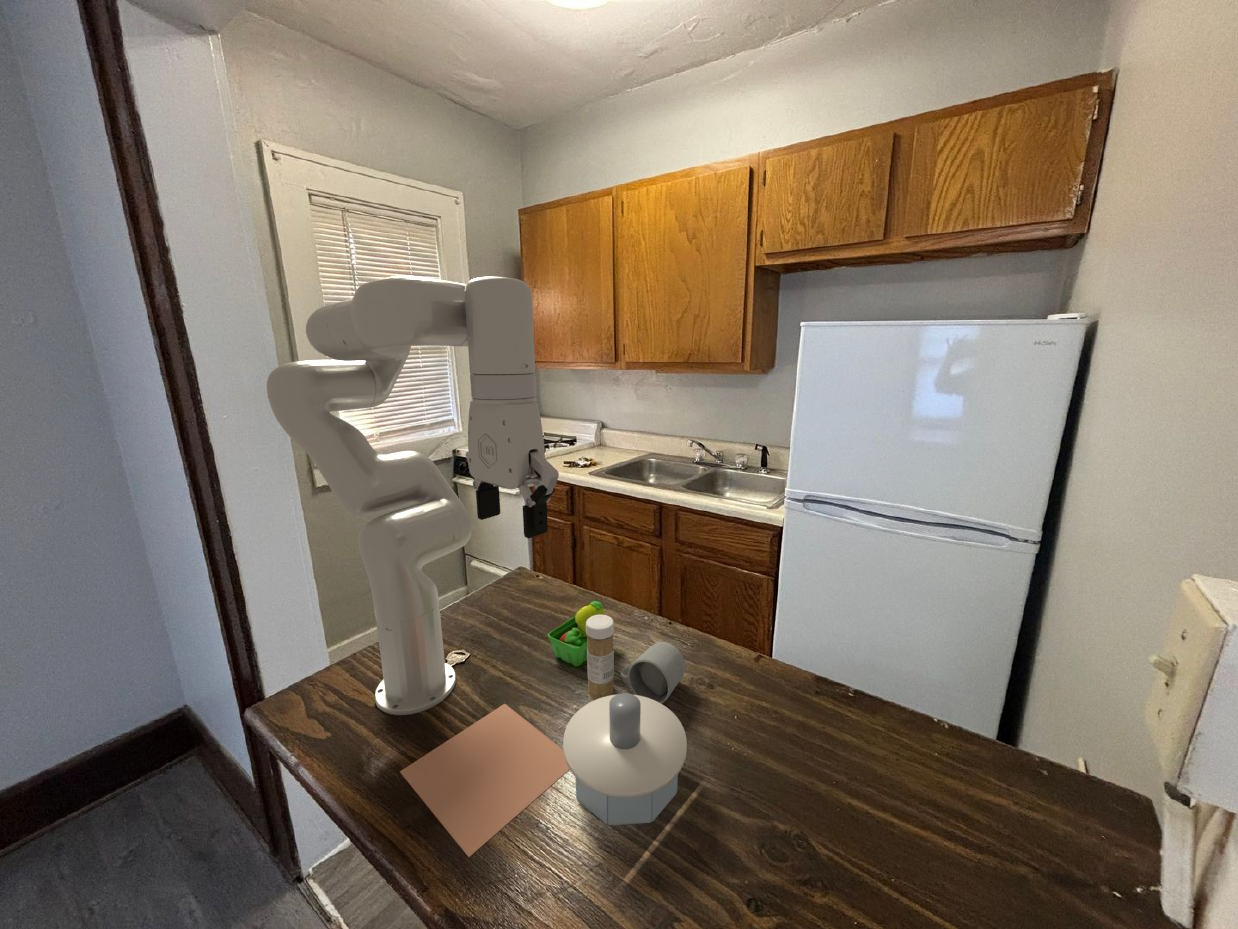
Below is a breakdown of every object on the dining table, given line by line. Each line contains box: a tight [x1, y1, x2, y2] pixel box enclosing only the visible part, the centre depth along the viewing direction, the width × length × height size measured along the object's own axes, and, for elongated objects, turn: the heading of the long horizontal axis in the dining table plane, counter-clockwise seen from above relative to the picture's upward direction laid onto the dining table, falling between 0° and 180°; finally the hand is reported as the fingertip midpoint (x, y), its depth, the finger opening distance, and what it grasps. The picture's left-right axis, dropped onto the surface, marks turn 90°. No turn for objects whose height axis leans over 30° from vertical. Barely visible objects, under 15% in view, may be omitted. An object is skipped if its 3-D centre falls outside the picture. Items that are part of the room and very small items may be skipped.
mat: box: [399, 703, 570, 858], centre depth 65 cm, size 17×17×1 cm
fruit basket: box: [547, 600, 605, 667], centre depth 89 cm, size 11×9×11 cm
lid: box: [562, 692, 688, 798], centre depth 62 cm, size 16×16×6 cm
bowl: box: [575, 773, 679, 826], centre depth 63 cm, size 13×13×6 cm
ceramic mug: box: [620, 641, 686, 705], centre depth 81 cm, size 11×8×8 cm
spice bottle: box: [586, 614, 615, 700], centre depth 78 cm, size 5×5×14 cm
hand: (511, 525), depth 60 cm, fingers open, 9 cm apart
